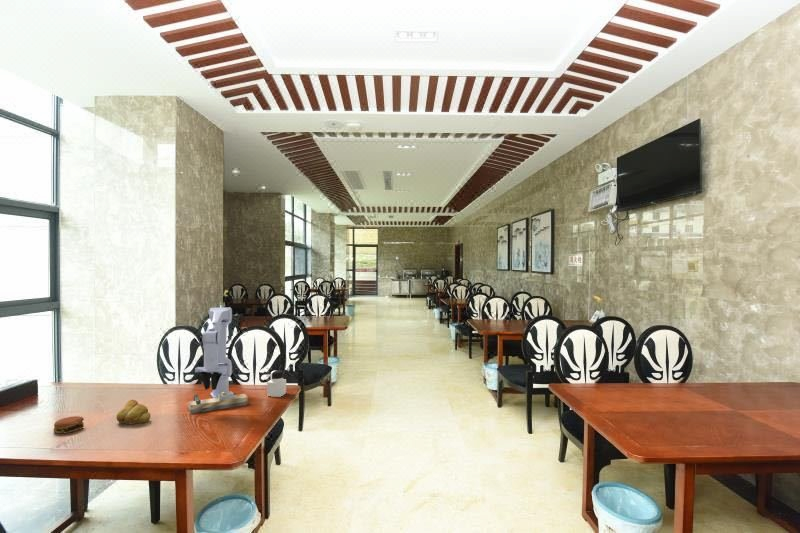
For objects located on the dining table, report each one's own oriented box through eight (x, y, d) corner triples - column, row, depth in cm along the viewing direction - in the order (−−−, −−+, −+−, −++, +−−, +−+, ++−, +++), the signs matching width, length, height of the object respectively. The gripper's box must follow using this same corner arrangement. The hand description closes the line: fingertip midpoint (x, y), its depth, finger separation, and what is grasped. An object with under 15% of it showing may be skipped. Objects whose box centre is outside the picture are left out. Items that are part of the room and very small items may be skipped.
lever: (193, 406, 191) (193, 394, 191) (197, 405, 192) (197, 394, 192) (196, 412, 183) (196, 400, 183) (200, 411, 183) (200, 400, 184)
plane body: (190, 413, 183) (190, 405, 183) (188, 409, 189) (188, 401, 189) (247, 404, 196) (247, 397, 196) (244, 400, 201) (244, 393, 202)
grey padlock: (286, 393, 215) (286, 369, 215) (281, 397, 208) (281, 372, 208) (272, 392, 215) (272, 369, 216) (267, 396, 208) (267, 372, 208)
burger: (50, 430, 163) (50, 418, 163) (79, 424, 171) (80, 412, 171) (57, 437, 157) (57, 424, 157) (87, 430, 164) (87, 418, 164)
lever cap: (217, 397, 194) (217, 391, 194) (231, 395, 197) (231, 389, 197) (219, 400, 190) (219, 394, 190) (233, 398, 193) (233, 392, 193)
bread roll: (156, 419, 176) (156, 400, 176) (135, 428, 166) (135, 407, 166) (132, 416, 179) (132, 397, 179) (110, 424, 170) (111, 404, 170)
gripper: (190, 359, 184) (190, 390, 183) (219, 360, 180) (219, 392, 180) (201, 356, 190) (201, 386, 190) (229, 357, 187) (229, 388, 187)
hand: (210, 389), depth 186 cm, fingers open, 3 cm apart
